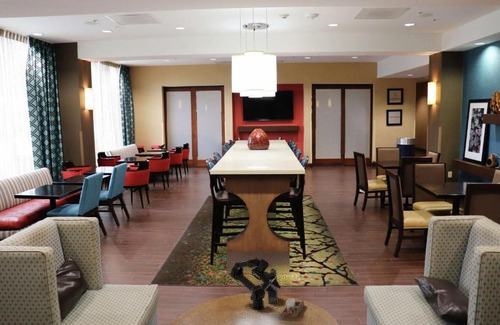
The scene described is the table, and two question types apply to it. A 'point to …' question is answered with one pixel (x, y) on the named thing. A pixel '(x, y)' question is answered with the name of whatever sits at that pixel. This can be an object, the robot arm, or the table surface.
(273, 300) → the small box
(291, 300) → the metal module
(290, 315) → the divided wooden tray
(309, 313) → the table surface
